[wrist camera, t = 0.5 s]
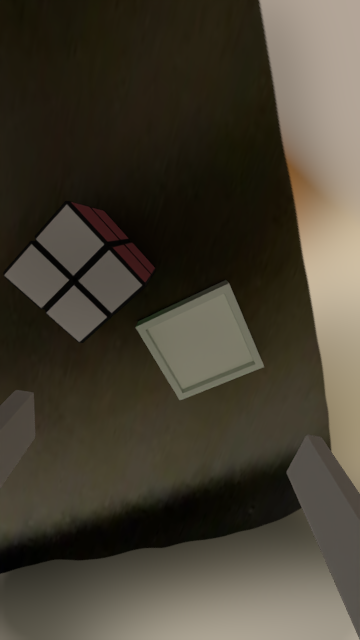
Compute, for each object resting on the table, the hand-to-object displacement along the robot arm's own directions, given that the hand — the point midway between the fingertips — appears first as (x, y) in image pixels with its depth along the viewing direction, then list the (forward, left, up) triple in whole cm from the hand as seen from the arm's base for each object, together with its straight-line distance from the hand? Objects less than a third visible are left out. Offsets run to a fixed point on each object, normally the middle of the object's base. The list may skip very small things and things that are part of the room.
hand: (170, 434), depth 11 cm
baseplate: (+7, 0, -24) cm, 25 cm away
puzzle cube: (-9, -7, -24) cm, 26 cm away
